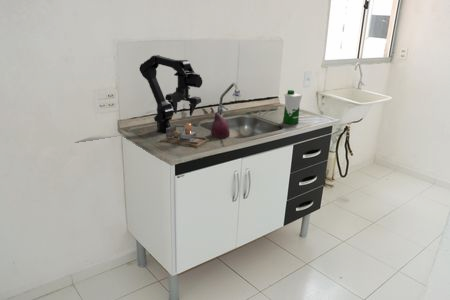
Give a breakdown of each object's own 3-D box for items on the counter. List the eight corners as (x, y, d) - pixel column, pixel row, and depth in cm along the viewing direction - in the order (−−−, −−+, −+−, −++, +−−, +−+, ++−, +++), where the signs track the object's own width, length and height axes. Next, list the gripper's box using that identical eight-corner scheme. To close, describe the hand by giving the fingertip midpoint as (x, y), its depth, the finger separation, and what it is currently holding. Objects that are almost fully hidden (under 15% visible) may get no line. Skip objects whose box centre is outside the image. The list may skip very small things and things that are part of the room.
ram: (179, 139, 186) (179, 124, 184) (185, 136, 192) (185, 121, 189) (190, 141, 184) (190, 126, 181) (196, 138, 189) (196, 123, 186)
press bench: (163, 141, 187) (163, 129, 185) (176, 135, 198) (175, 124, 195) (198, 147, 180) (198, 135, 178) (208, 141, 190) (209, 129, 188)
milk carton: (289, 120, 237) (292, 89, 231) (300, 123, 231) (304, 91, 224) (280, 122, 232) (283, 90, 225) (291, 125, 225) (294, 93, 219)
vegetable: (214, 144, 196) (209, 119, 188) (209, 136, 204) (204, 112, 197) (232, 138, 197) (228, 114, 190) (227, 131, 206) (222, 107, 198)
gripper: (159, 85, 184) (159, 115, 189) (191, 89, 177) (190, 120, 182) (171, 82, 194) (171, 111, 199) (202, 86, 187) (201, 116, 192)
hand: (183, 114), depth 193 cm, fingers open, 9 cm apart
